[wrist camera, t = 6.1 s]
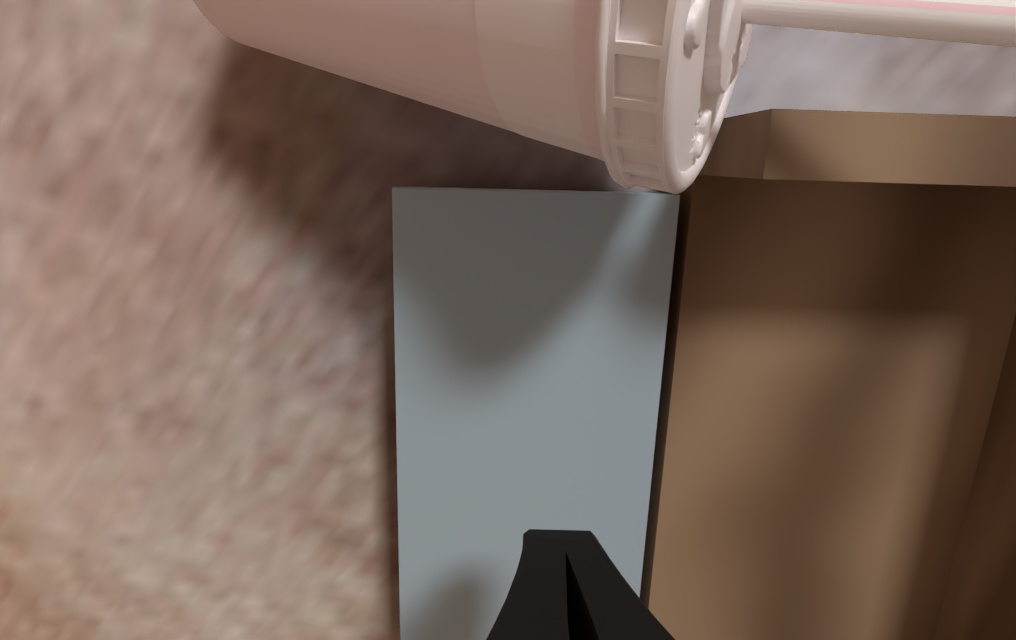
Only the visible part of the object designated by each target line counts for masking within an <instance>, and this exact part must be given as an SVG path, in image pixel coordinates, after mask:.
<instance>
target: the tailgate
mask: <svg viewBox="0 0 1016 640" xmlns="http://www.w3.org/2000/svg"><path fill="white" fill-rule="evenodd" d="M679 200H680V195H677V194H669V193H651V192H611V191H570V190H530V189H489V188H449V187H408V186H393V187H392V229H393V282H394V335H395V388H396V441H397V494H398V547H399V600H400V640H486V639H487V637H488V635H489V633H490V631H491V629H492V627H493V625H494V623H495V621H496V619H497V617H498V615H499V613H500V611H501V608H502V606H503V604H504V602H505V600H506V597H507V595H508V592H509V590H510V587H511V584H512V582H513V579H514V576H515V574H516V571H517V567H518V564H519V561H520V557H521V553H522V547H523V534H524V533H525V532H526V531H528V530H529V529H543V530H584V531H591V532H592V533H593V534H594V535H595V536H596V538H597V540H598V541H599V543H600V544H601V546H602V547H603V549H604V550H605V552H606V553H607V555H608V556H609V558H610V559H611V561H612V562H613V563H614V565H615V566H616V568H617V569H618V570H619V572H620V573H621V575H622V576H623V577H624V579H625V580H626V581H627V583H628V584H629V585H630V587H631V588H632V589H633V590H634V592H635V593H636V594H637V595H638V597H639V598H640V588H641V578H642V568H643V558H644V548H645V538H646V529H647V519H648V509H649V499H650V489H651V479H652V469H653V459H654V449H655V439H656V429H657V419H658V409H659V399H660V389H661V379H662V369H663V359H664V350H665V340H666V330H667V320H668V310H669V300H670V290H671V280H672V270H673V260H674V250H675V240H676V230H677V220H678V210H679Z"/></svg>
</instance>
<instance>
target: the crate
mask: <svg viewBox="0 0 1016 640" xmlns="http://www.w3.org/2000/svg"><path fill="white" fill-rule="evenodd" d="M640 599H641V600H642V602H643V603H644V604H645V606H646V607H647V608H648V609H649V610H650V612H651V613H652V614H653V615H654V616H655V617H656V619H657V620H658V621H659V622H660V623H661V624H662V625H663V627H664V628H665V629H666V630H667V631H668V632H669V633H670V634H671V635H672V637H673V638H674V639H675V640H1016V117H1008V116H977V115H946V114H916V113H885V112H854V111H824V110H793V109H769V110H764V111H759V112H754V113H749V114H743V115H738V116H733V117H728V118H723V121H722V124H721V127H720V129H719V132H718V134H717V137H716V139H715V142H714V144H713V146H712V149H711V151H710V153H709V155H708V157H707V159H706V161H705V163H704V166H703V168H702V169H701V171H700V172H699V174H698V176H697V177H696V179H695V180H694V182H693V183H692V184H691V185H690V186H689V187H688V188H687V189H686V190H684V191H683V192H681V193H680V203H679V213H678V223H677V233H676V243H675V253H674V263H673V273H672V283H671V292H670V302H669V312H668V322H667V332H666V342H665V352H664V362H663V372H662V382H661V392H660V402H659V412H658V422H657V432H656V441H655V451H654V461H653V471H652V481H651V491H650V501H649V511H648V521H647V531H646V541H645V551H644V561H643V571H642V581H641V590H640Z"/></svg>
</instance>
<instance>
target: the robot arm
mask: <svg viewBox="0 0 1016 640" xmlns="http://www.w3.org/2000/svg"><path fill="white" fill-rule="evenodd" d="M486 640H675V639H674V638H673V637H672V635H671V634H670V633H669V632H668V631H667V630H666V629H665V628H664V627H663V625H662V624H661V623H660V622H659V621H658V620H657V619H656V617H655V616H654V615H653V614H652V613H651V612H650V610H649V609H648V608H647V607H646V606H645V604H644V603H643V602H642V600H641V599H640V598H639V597H638V595H637V594H636V593H635V592H634V590H633V589H632V588H631V587H630V585H629V584H628V583H627V581H626V580H625V579H624V577H623V576H622V575H621V573H620V572H619V570H618V569H617V568H616V566H615V565H614V563H613V562H612V561H611V559H610V558H609V556H608V555H607V553H606V552H605V550H604V549H603V547H602V546H601V544H600V543H599V541H598V540H597V538H596V536H595V535H594V534H593V533H592V532H591V531H584V530H543V529H529V530H528V531H526V532H525V533H524V534H523V547H522V553H521V557H520V561H519V564H518V567H517V571H516V574H515V576H514V579H513V582H512V584H511V587H510V590H509V592H508V595H507V597H506V600H505V602H504V604H503V606H502V608H501V611H500V613H499V615H498V617H497V619H496V621H495V623H494V625H493V627H492V629H491V631H490V633H489V635H488V637H487V639H486Z"/></svg>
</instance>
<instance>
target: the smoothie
mask: <svg viewBox="0 0 1016 640" xmlns="http://www.w3.org/2000/svg"><path fill="white" fill-rule="evenodd" d="M193 1H194V2H195V4H196V5H197V7H198V8H199V9H200V11H201V12H202V13H203V15H204V16H205V17H206V18H207V19H208V20H209V21H210V22H211V24H212V25H213V26H215V27H216V28H217V29H218V30H219V31H220V32H222V33H223V34H224V35H226V36H227V37H229V38H231V39H232V40H234V41H236V42H238V43H241V44H244V45H247V46H250V47H253V48H256V49H259V50H262V51H265V52H268V53H271V54H274V55H277V56H281V57H284V58H287V59H290V60H293V61H296V62H299V63H302V64H305V65H308V66H311V67H314V68H318V69H321V70H324V71H327V72H330V73H333V74H336V75H339V76H342V77H345V78H348V79H351V80H355V81H358V82H361V83H364V84H367V85H370V86H373V87H376V88H379V89H382V90H385V91H388V92H392V93H395V94H398V95H401V96H404V97H407V98H410V99H413V100H416V101H419V102H422V103H425V104H429V105H432V106H435V107H438V108H441V109H444V110H447V111H450V112H453V113H456V114H459V115H462V116H466V117H469V118H472V119H475V120H478V121H481V122H484V123H487V124H490V125H493V126H496V127H499V128H503V129H506V130H509V131H512V132H515V133H518V134H519V135H522V136H525V137H528V138H531V139H534V140H538V141H541V142H544V143H548V144H551V145H554V146H557V147H561V148H564V149H567V150H571V151H574V152H577V153H580V154H584V155H587V156H590V157H594V158H597V159H599V160H601V161H604V162H605V164H606V166H607V169H608V172H609V175H610V177H611V179H612V180H614V181H615V182H616V183H618V184H619V185H620V186H622V187H623V188H624V189H628V188H631V187H634V186H637V187H638V186H639V187H645V188H650V189H655V190H660V191H665V192H668V193H672V194H679V193H681V192H683V191H684V190H686V189H687V188H688V187H689V186H690V185H691V184H692V183H693V182H694V180H695V179H696V177H697V176H698V174H699V172H700V171H701V169H702V168H703V166H704V163H705V161H706V159H707V157H708V155H709V153H710V151H711V149H712V146H713V144H714V142H715V139H716V137H717V134H718V132H719V129H720V127H721V124H722V121H723V118H724V116H725V113H726V110H727V107H728V104H729V101H730V98H731V95H732V92H733V89H734V86H735V83H736V80H737V76H738V73H739V70H740V68H741V67H742V65H743V64H744V62H745V60H746V58H747V53H748V48H749V44H750V39H751V34H752V29H753V24H759V25H771V26H782V27H793V28H804V29H816V30H827V31H838V32H849V33H861V34H872V35H883V36H894V37H906V38H917V39H928V40H939V41H951V42H962V43H973V44H985V45H996V46H1007V47H1016V0H193Z"/></svg>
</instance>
